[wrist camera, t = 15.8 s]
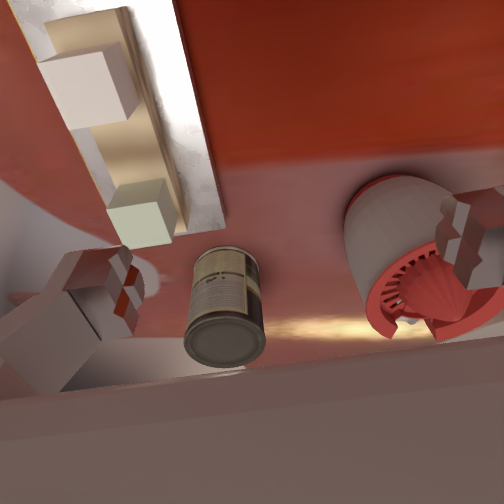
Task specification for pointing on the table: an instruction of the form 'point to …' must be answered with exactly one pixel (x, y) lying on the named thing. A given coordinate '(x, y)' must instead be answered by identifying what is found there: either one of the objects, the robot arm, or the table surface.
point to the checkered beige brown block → (142, 119)
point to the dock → (164, 89)
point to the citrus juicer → (409, 261)
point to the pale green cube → (143, 213)
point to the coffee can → (225, 309)
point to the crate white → (91, 85)
